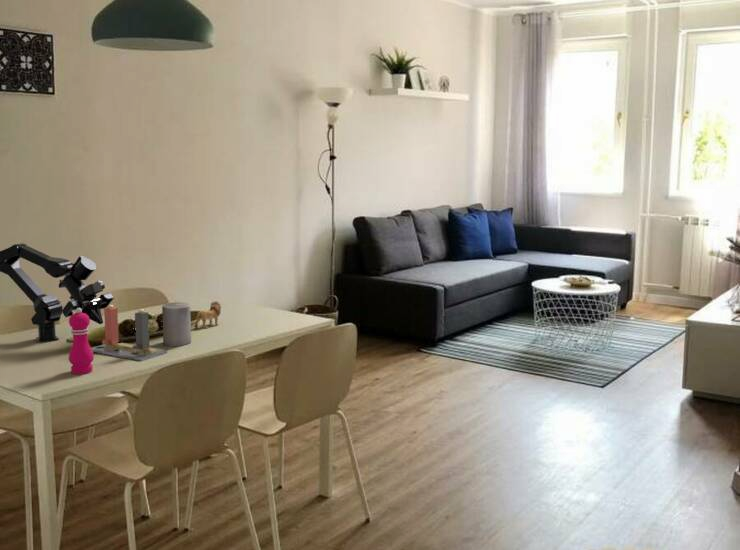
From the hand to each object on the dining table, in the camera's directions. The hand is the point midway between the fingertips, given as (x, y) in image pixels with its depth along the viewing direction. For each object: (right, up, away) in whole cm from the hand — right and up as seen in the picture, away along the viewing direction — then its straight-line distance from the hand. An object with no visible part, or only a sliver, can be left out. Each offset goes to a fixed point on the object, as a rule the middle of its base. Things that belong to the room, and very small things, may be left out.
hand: (101, 323), depth 278 cm
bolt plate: (+11, -9, -6) cm, 15 cm away
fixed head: (+16, -9, -9) cm, 20 cm away
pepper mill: (+4, -13, -29) cm, 32 cm away
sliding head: (+3, -7, -2) cm, 9 cm away
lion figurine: (+30, -3, +35) cm, 46 cm away
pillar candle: (+24, -8, +8) cm, 26 cm away
